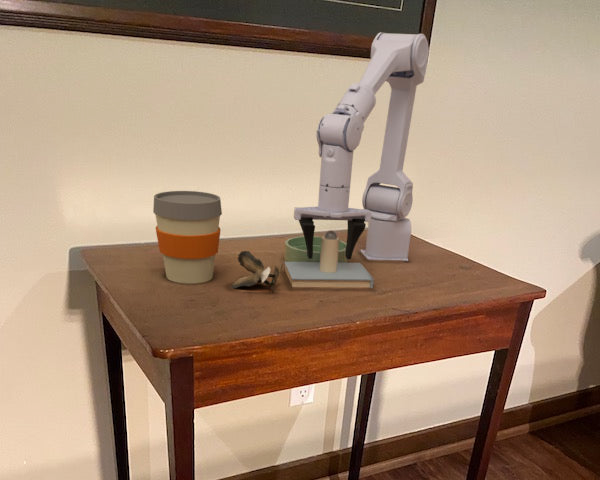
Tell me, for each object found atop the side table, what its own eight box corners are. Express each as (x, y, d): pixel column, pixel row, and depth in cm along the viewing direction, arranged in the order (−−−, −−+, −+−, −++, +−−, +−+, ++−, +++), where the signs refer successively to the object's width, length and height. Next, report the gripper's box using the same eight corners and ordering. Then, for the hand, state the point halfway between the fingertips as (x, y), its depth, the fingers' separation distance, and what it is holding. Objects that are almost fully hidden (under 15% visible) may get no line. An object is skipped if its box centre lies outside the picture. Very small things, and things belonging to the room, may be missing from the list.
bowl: (339, 254, 141) (341, 236, 139) (353, 272, 129) (355, 253, 127) (280, 253, 139) (281, 235, 137) (288, 271, 127) (289, 252, 125)
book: (359, 273, 129) (360, 262, 128) (372, 290, 119) (374, 279, 118) (283, 272, 126) (284, 261, 125) (291, 289, 117) (291, 278, 116)
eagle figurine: (282, 277, 119) (238, 263, 120) (284, 253, 113) (238, 238, 113) (269, 307, 116) (224, 293, 116) (271, 284, 109) (223, 269, 110)
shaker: (334, 267, 124) (338, 228, 120) (338, 273, 121) (342, 232, 117) (317, 267, 123) (320, 228, 119) (320, 272, 120) (324, 232, 116)
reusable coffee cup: (177, 263, 127) (174, 188, 120) (232, 272, 124) (233, 195, 117) (144, 280, 117) (138, 198, 109) (203, 290, 113) (202, 207, 106)
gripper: (299, 187, 110) (295, 262, 116) (378, 190, 112) (369, 263, 118) (293, 180, 116) (290, 252, 122) (368, 183, 118) (361, 253, 124)
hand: (328, 257), depth 121 cm, fingers open, 7 cm apart
